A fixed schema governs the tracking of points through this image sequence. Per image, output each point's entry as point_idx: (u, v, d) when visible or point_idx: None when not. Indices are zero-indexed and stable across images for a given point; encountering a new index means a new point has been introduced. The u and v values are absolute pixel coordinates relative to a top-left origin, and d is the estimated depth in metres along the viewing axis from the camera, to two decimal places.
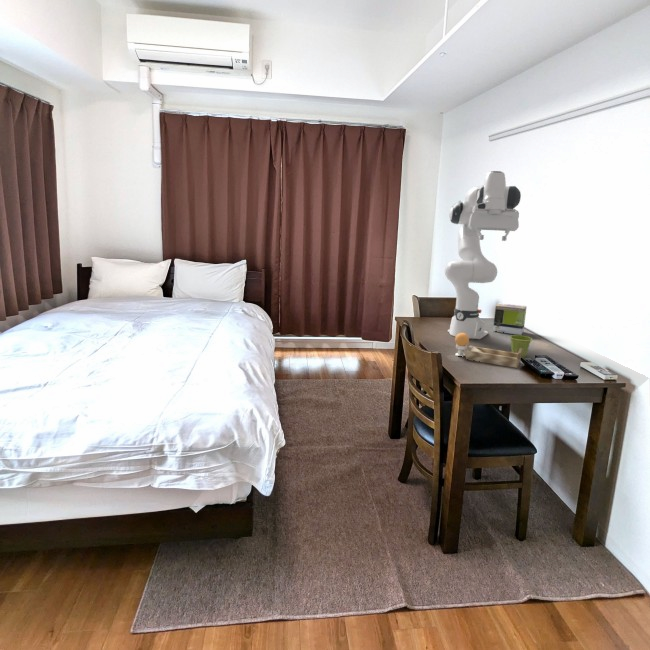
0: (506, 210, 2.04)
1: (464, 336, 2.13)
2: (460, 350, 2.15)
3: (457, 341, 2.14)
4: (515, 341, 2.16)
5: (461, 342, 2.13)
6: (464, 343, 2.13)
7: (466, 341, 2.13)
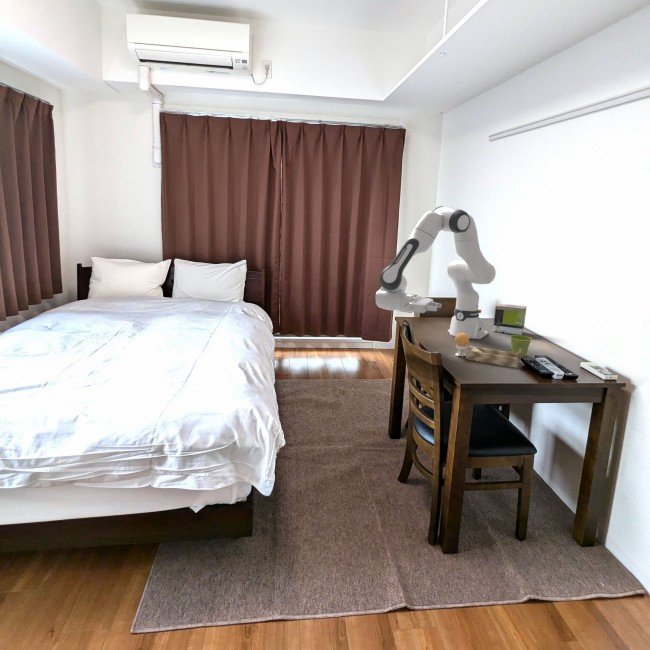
0: None
1: (464, 336, 2.13)
2: (460, 350, 2.15)
3: (457, 341, 2.14)
4: (515, 341, 2.16)
5: (461, 342, 2.13)
6: (464, 343, 2.13)
7: (466, 341, 2.13)
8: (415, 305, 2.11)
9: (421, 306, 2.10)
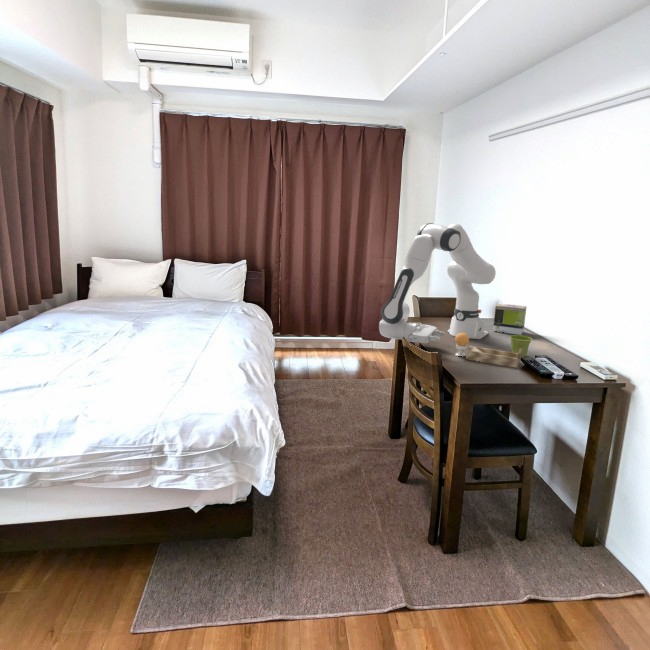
0: None
1: (464, 336, 2.13)
2: (460, 350, 2.15)
3: (457, 341, 2.14)
4: (515, 341, 2.16)
5: (461, 342, 2.13)
6: (464, 343, 2.13)
7: (466, 341, 2.13)
8: (418, 336, 2.14)
9: (424, 337, 2.12)
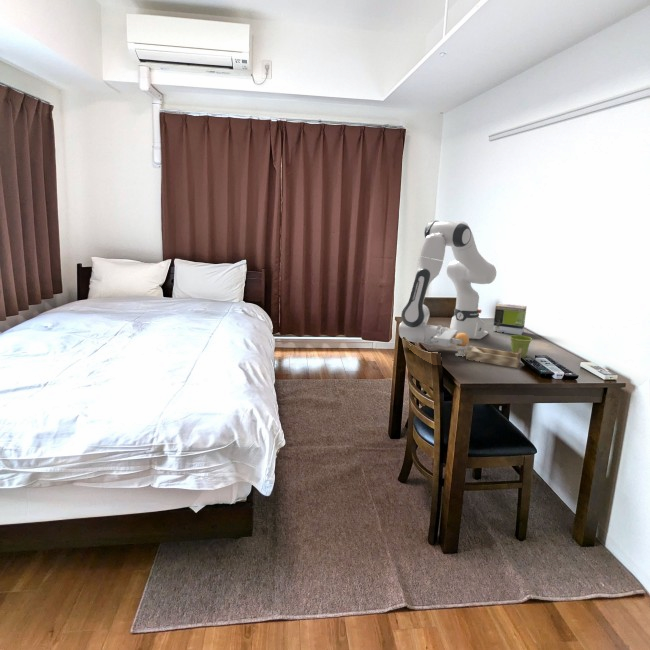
0: None
1: (464, 336, 2.13)
2: (460, 350, 2.15)
3: None
4: (515, 341, 2.16)
5: None
6: (464, 343, 2.13)
7: (466, 341, 2.13)
8: (440, 339, 2.09)
9: (446, 340, 2.08)
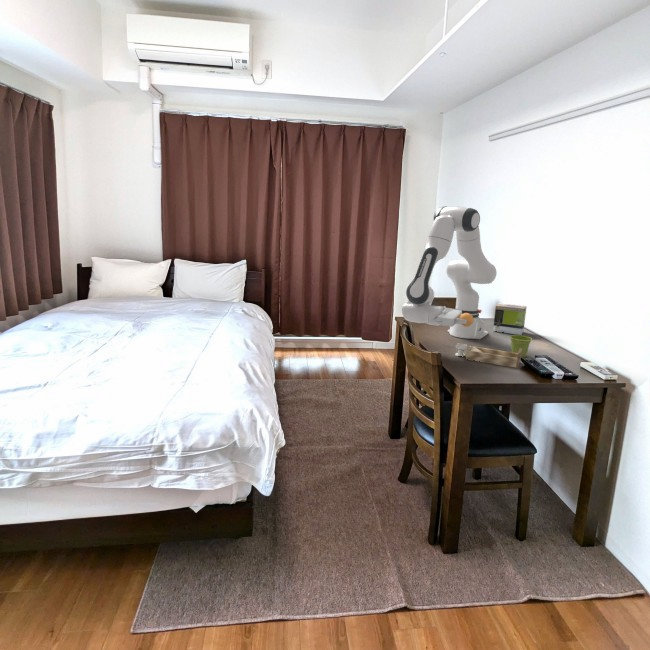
0: None
1: (468, 316, 2.10)
2: (460, 350, 2.15)
3: None
4: (515, 341, 2.16)
5: None
6: (468, 323, 2.10)
7: (470, 321, 2.10)
8: (444, 319, 2.07)
9: (450, 320, 2.06)
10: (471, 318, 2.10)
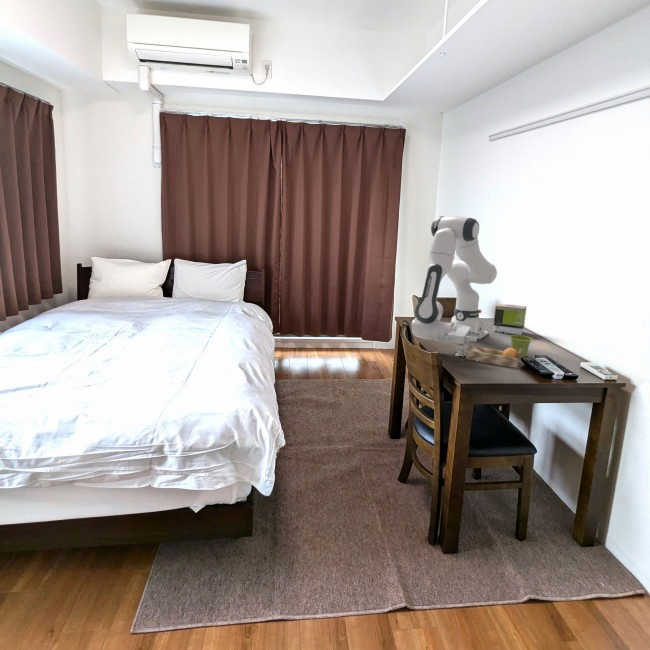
0: None
1: (509, 350, 2.06)
2: (460, 350, 2.15)
3: None
4: (515, 341, 2.16)
5: None
6: (514, 356, 2.05)
7: (514, 353, 2.05)
8: (454, 336, 2.06)
9: (460, 337, 2.05)
10: (513, 350, 2.05)
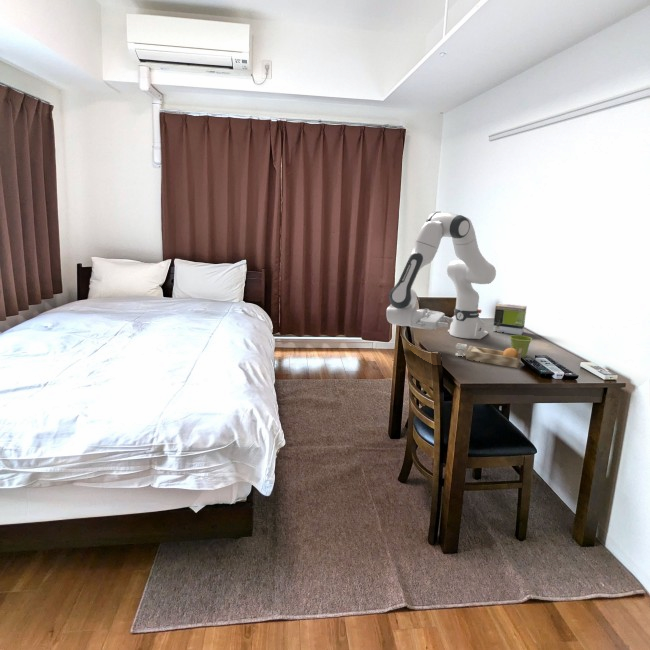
0: None
1: (509, 350, 2.06)
2: (460, 350, 2.15)
3: None
4: (515, 341, 2.16)
5: None
6: (514, 356, 2.05)
7: (515, 353, 2.05)
8: (426, 322, 2.11)
9: (432, 323, 2.10)
10: (513, 350, 2.05)
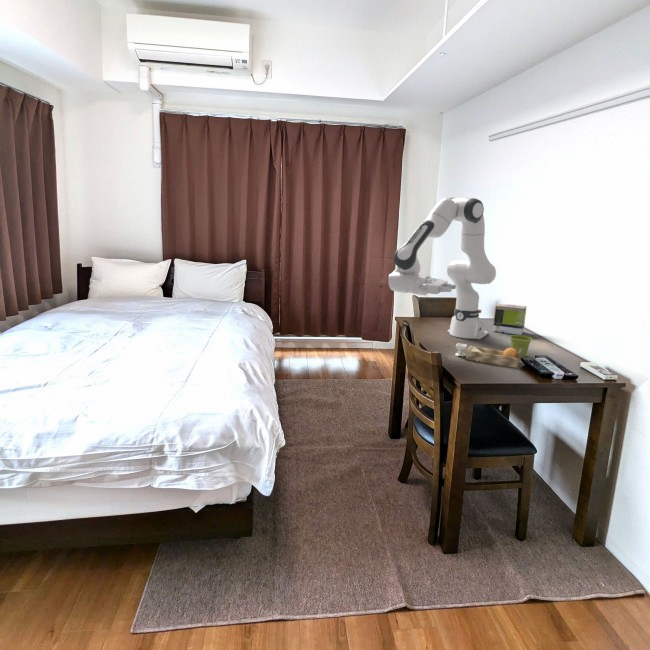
0: None
1: (509, 350, 2.06)
2: (460, 350, 2.15)
3: None
4: (515, 341, 2.16)
5: None
6: (514, 356, 2.05)
7: (515, 353, 2.05)
8: (429, 286, 2.07)
9: (435, 287, 2.06)
10: (513, 350, 2.05)
